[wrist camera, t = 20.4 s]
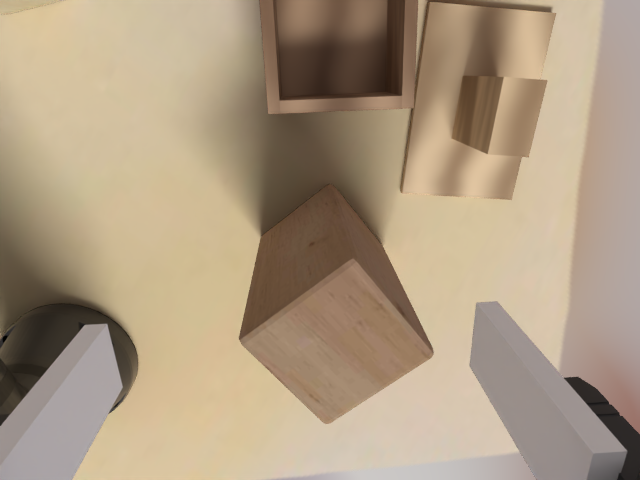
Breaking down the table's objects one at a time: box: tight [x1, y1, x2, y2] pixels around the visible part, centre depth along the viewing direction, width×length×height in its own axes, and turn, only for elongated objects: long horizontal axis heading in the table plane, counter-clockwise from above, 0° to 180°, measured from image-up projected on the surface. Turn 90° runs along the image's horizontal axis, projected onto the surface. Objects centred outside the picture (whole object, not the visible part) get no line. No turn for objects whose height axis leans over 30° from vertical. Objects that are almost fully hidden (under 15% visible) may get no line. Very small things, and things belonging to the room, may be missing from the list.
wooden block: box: [239, 184, 433, 424], centre depth 39 cm, size 10×10×20 cm
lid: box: [401, 2, 556, 200], centre depth 40 cm, size 12×18×10 cm, turn 176°
